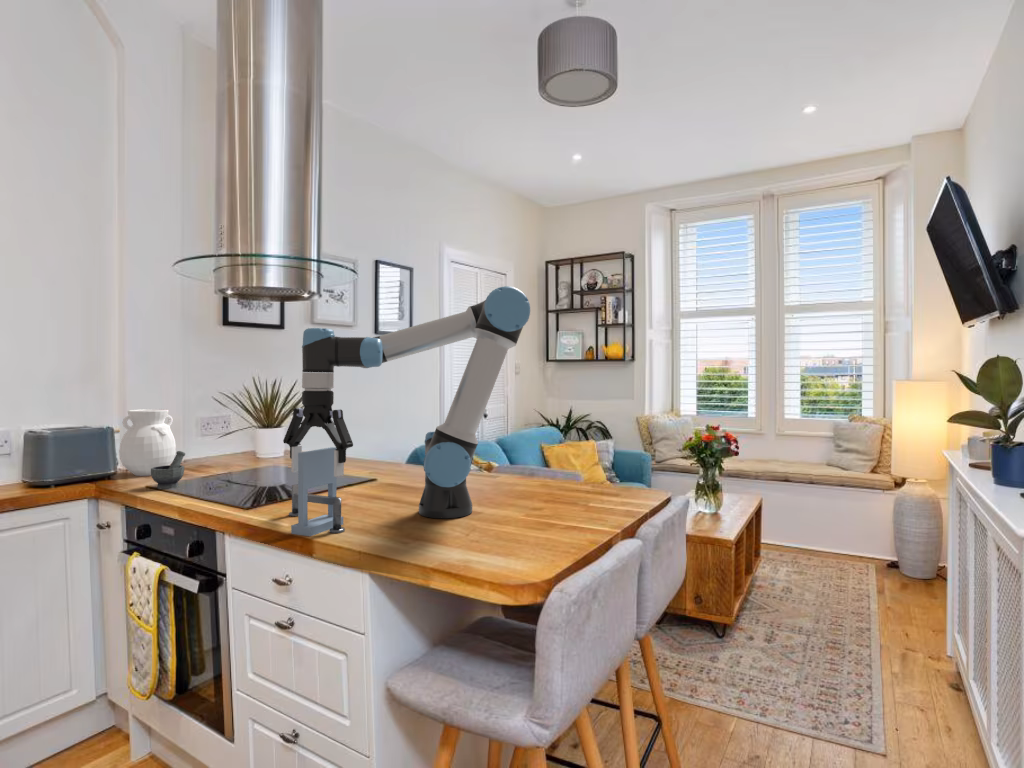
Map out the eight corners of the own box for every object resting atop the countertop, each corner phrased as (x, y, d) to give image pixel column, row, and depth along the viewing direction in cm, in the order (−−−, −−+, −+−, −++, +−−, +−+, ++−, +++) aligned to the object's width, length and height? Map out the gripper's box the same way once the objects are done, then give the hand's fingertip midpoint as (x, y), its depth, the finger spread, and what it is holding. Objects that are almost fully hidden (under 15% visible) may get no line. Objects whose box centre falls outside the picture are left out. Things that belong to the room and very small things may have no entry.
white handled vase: (163, 468, 232) (163, 407, 232) (184, 473, 222) (184, 409, 221) (111, 474, 217) (110, 410, 217) (131, 480, 207) (131, 412, 206)
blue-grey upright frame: (343, 524, 147) (343, 447, 147) (310, 536, 136) (310, 453, 136) (325, 522, 149) (325, 446, 149) (291, 533, 138) (291, 452, 138)
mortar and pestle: (164, 491, 188) (163, 455, 187) (144, 488, 191) (144, 453, 191) (194, 485, 198) (193, 451, 198) (175, 483, 201) (174, 449, 201)
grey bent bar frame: (347, 531, 140) (347, 497, 140) (318, 537, 135) (318, 502, 135) (299, 512, 159) (299, 482, 159) (272, 517, 154) (272, 486, 154)
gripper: (367, 390, 141) (367, 475, 141) (291, 388, 150) (290, 467, 151) (348, 391, 134) (347, 480, 134) (269, 389, 143) (268, 472, 144)
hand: (317, 473), depth 142 cm, fingers open, 13 cm apart
